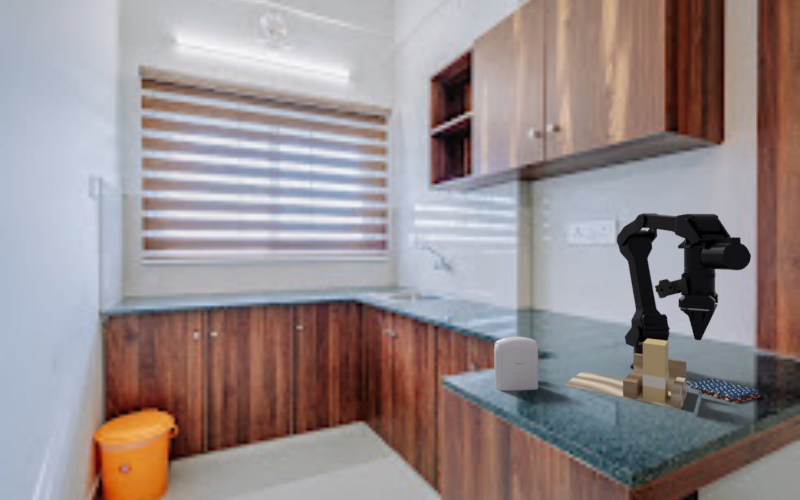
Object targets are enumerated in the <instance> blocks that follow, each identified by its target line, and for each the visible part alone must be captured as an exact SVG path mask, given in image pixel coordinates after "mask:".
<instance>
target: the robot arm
mask: <svg viewBox="0 0 800 500" xmlns="http://www.w3.org/2000/svg"><path fill="white" fill-rule="evenodd" d="M642 228H643V229H642ZM645 229H648V230H645ZM658 230H661V231H667V232H668V231H669V232H672V233H674V234H675V236H678V237H680V238H682V239H684V240H683V241H682V242H681V243H679V244H678V245H677V249H680V250H682V249H683V267H684V268H683V272H682V273H681V276H680V278H678V279H674V280H672V281H670V280H669V279H668V278H664V279H661V280H659V281H658V284H656V285H654V286H653V282H652V277H651V271H650V264H649V259H648V258H649V256H650V255H651V252H652V250H653V243H654V241H655V240H656V238H657V237H658ZM616 243H617V245H618V249H619V252H620V254H621V255H622V256H623V258H624V259H626V261H627V264H628V269H629V276H630V283H631V288H632V294H633V300H634V306H635V312H634V314H633V316H632V317H631V321H630V322H631V328H629V330H628V332H626V334H625V336H624V340H625V345H628V346H630V347H632V348H633V355H634V354H635V353H637V354H643V342H644V341H645V340H646V339H647V338H648V339H656V340H665V341H668V342H669V337H670V330H671V328H670V326H669V322H668V321H669V320H668V316H667V315H666V313H665V314H664V313H663V314H661V312H660V311H659V310H658V308H657V304H656V299H655V293H654V288H655V292H656V293H657V294H658V295H657V296H658V298H659V299H665V298H667V297H669V296H673V295H677V294H680V295H681V296H680V297H679V298H678V308H679V310H680V311H681V312H683V314H685V315H686V316H687V317H688V320H689V322H690V323H689V324H690V326H691V331H692V335H693V338H694V340H695V341H702V339H703V336H704V334H705V332H706V330H707V328H708V326H709V324H710V322H711V320H712V319H713V318H712V317H713V316H714V314H715V311H716V310H717V307H718V303H719V294H718V293H717V292H716V275H717V274H716V273H717V272H716V270H723V271H741V270H744V269H745V268H747V267H748V265H749V264H750V262H751V257H752V254H751V252H750V250H749V249H748V247H747V245H745V244H743V243H741V237H739V236H738V237H736V236H733V237H732V236H731V234H730V233H729V232H728V230H727V229H726V227H725V226H724V225H723V223H722V221H721V220H720V218H719V216H718V215H717V214H715V213H684V214H678V215H667V214H658V213H652V212H651V213H648V212H647V213H646V212H645V213H641V214H640V213H639V214H638V215H637V216H636V217H635V219H634V220H633V221H631V222H629V223H627V224H626V225H624V227H623V228H622V229H621V230H620V231H619V233H618V234H617V237H616ZM630 369H634V362H633V363H632V364H631V365H630Z"/></svg>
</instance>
